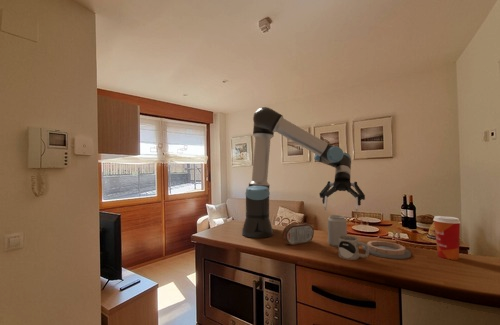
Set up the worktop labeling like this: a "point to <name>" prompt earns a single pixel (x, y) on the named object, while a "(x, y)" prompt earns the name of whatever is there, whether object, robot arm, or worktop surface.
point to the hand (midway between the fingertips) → (340, 209)
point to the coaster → (407, 255)
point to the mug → (350, 248)
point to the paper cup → (447, 236)
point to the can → (336, 228)
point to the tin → (298, 233)
